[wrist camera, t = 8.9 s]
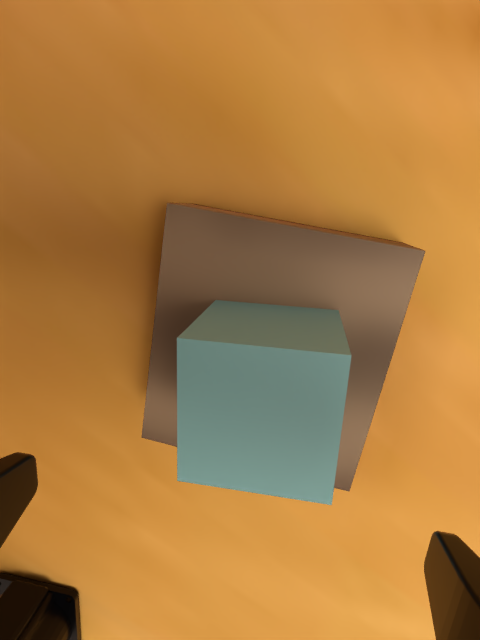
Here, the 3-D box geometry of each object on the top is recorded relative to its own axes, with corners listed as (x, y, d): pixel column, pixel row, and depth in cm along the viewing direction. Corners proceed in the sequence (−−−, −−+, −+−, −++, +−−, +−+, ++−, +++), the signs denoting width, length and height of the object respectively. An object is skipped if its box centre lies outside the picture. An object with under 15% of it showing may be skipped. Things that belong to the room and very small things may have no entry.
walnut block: (342, 441, 21) (349, 491, 18) (169, 398, 22) (141, 437, 19) (400, 241, 18) (425, 251, 14) (195, 203, 19) (167, 202, 15)
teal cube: (325, 421, 17) (331, 504, 12) (212, 407, 18) (177, 480, 13) (338, 310, 15) (351, 355, 11) (215, 300, 16) (176, 338, 11)
